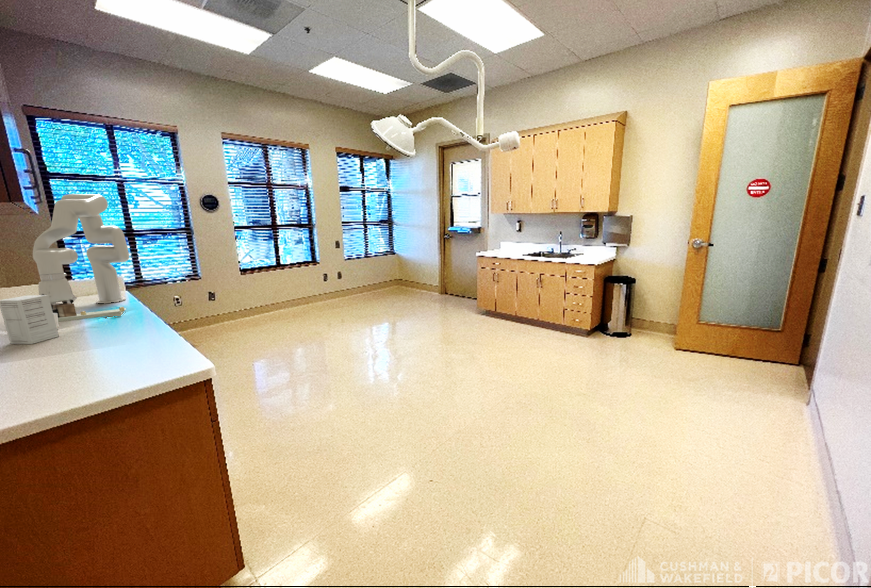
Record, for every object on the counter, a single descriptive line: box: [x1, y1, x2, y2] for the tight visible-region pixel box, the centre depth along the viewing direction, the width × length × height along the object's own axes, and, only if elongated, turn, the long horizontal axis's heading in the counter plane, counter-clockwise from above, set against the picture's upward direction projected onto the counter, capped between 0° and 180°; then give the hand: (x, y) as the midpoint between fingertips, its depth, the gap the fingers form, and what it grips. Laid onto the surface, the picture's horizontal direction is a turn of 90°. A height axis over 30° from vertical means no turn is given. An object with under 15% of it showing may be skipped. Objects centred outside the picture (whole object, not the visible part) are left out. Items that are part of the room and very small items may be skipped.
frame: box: [56, 302, 78, 318], centre depth 161 cm, size 4×10×6 cm, turn 83°
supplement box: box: [0, 294, 60, 345], centre depth 132 cm, size 10×9×17 cm
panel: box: [58, 306, 127, 323], centre depth 164 cm, size 14×27×3 cm, turn 123°
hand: (62, 315), depth 161 cm, fingers closed on frame, 4 cm apart
